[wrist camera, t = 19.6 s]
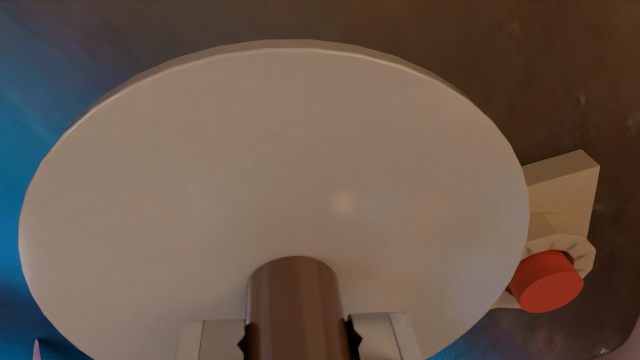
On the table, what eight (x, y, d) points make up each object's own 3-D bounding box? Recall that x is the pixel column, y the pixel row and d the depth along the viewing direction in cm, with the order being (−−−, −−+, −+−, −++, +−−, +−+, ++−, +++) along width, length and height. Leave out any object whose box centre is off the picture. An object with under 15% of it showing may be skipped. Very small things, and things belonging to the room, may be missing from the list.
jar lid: (31, -83, 7) (-308, -14, 3) (610, 125, 11) (821, 278, 7) (41, 355, 14) (-50, 555, 10) (387, 382, 18) (425, 532, 14)
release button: (504, 258, 23) (520, 283, 22) (568, 241, 23) (587, 265, 22) (504, 294, 26) (518, 319, 24) (562, 279, 25) (580, 303, 24)
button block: (442, 188, 24) (465, 231, 21) (581, 148, 23) (624, 186, 20) (456, 296, 30) (475, 339, 28) (563, 267, 30) (594, 308, 27)
